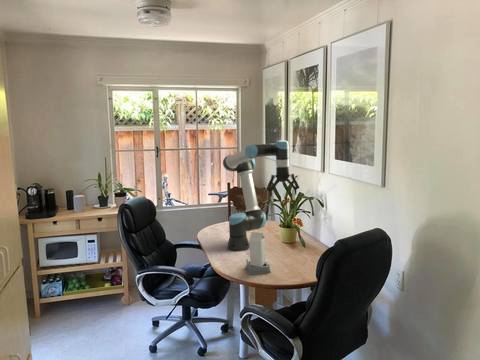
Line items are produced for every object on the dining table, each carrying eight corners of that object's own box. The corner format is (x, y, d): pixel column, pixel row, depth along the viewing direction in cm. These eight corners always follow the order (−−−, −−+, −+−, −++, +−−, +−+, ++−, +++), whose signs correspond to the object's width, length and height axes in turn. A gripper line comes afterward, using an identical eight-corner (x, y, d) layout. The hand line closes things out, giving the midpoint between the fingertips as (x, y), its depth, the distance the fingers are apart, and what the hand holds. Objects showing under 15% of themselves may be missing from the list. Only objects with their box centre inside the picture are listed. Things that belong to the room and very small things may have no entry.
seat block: (245, 266, 228) (245, 258, 227) (265, 264, 230) (265, 257, 229) (250, 274, 216) (249, 266, 215) (270, 272, 218) (270, 264, 218)
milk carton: (261, 266, 218) (261, 234, 215) (250, 265, 220) (249, 233, 218) (265, 262, 224) (264, 231, 221) (254, 261, 227) (253, 230, 224)
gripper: (263, 168, 225) (264, 203, 229) (304, 165, 230) (304, 200, 233) (260, 166, 233) (261, 201, 236) (300, 164, 237) (300, 198, 240)
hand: (283, 200), depth 234 cm, fingers open, 13 cm apart
